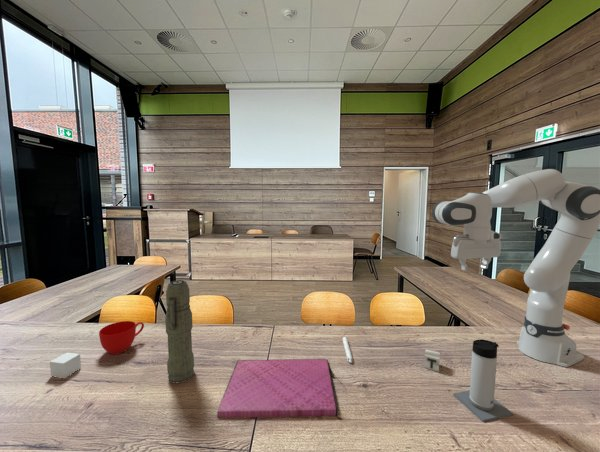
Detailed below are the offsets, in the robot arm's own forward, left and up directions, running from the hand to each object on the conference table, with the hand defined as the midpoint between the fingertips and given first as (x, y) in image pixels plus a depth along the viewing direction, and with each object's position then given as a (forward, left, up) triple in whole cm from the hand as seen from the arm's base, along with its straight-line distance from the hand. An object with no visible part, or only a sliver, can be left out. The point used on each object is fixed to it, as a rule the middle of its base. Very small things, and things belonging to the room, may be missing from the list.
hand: (474, 269), depth 105 cm
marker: (+46, -16, -38) cm, 62 cm away
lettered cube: (+18, +1, -37) cm, 41 cm away
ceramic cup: (+140, -40, -37) cm, 150 cm away
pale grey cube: (+154, -26, -37) cm, 161 cm away
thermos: (+112, -15, -37) cm, 119 cm away
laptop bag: (+75, -1, -38) cm, 84 cm away
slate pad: (+17, +21, -37) cm, 46 cm away
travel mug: (+17, +22, -37) cm, 46 cm away
